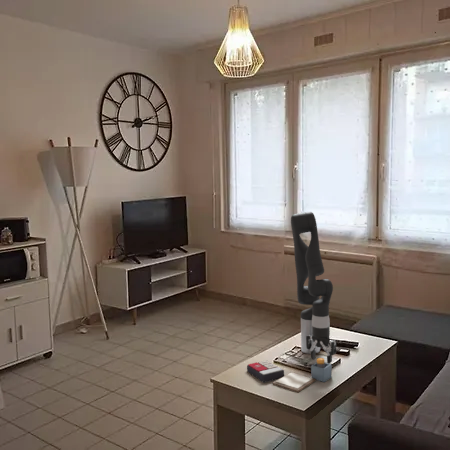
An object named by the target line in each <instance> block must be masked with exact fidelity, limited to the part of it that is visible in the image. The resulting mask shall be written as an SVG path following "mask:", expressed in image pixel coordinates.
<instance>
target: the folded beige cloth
mask: <svg viewBox="0 0 450 450" xmlns="http://www.w3.org/2000/svg"><path fill="white" fill-rule="evenodd" d="M316 381H317V380H316V379H314V378H311V376H310V377H309V376H306V375H303V374H299V373H296V372H293V371H290V372H288V373H286V374H284V376H283V377H281V378H279V379H277V380H273V381H272V385H273V386H276V387H280V388H283V389H285V390H289V391H292V392H295V393H299V392H301V391H302V390H304V389H306V388H308V387H309V386H310V385H312V384H313V383H315V382H316Z"/></svg>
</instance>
